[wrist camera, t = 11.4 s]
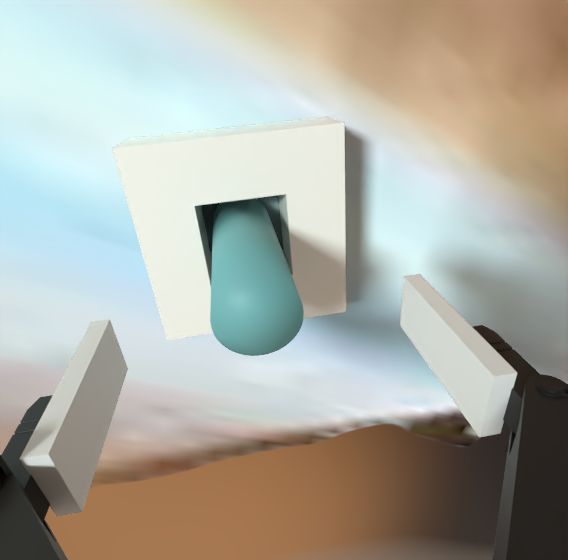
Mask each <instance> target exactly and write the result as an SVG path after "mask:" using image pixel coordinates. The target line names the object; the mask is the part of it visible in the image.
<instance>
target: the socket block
mask: <svg viewBox="0 0 568 560" xmlns="http://www.w3.org/2000/svg"><path fill="white" fill-rule="evenodd" d="M112 150H113V154H114V157H115V161H116V164H117V167H118V171H119V174H120V178H121V181H122V185H123V188H124V192H125V195H126V199H127V202H128V206H129V209H130V213H131V216H132V220H133V223H134V226H135V230H136V233H137V237H138V240H139V244H140V247H141V251H142V254H143V258H144V261H145V265H146V268H147V272H148V275H149V279H150V282H151V285H152V289H153V292H154V296H155V299H156V303H157V306H158V310H159V313H160V317H161V320H162V324H163V327H164V331H165V334H166V338H167V340H172V339H178V338H185V337H191V336H197V335H204V334H210V333H213V331H212V328H211V323H210V310H211V275H212V259H211V254H210V249H209V244H208V239H207V233H206V228H205V223H204V218H203V213H202V208H201V205H206V204H213V203H221V202H229V201H237V200H245V199H253V198H261V197H268V196H276V195H279V206H280V216H281V227H282V238H283V248H284V251H282V252H283V254H284V257H285V260H286V262H287V265H288V267H289V270H290V273H291V275H292V278H293V281H294V283H295V286H296V289H297V291H298V294H299V296H300V299H301V302H302V305H303V311H304V316H303V319H305V318H311V317H317V316H324V315H330V314H336V313H342V312H346V234H345V128H344V122H341V121H338V120H335V119H333V118H330V117H327V116H326V117H316V118H307V119H298V120H289V121H280V122H271V123H262V124H252V125H243V126H234V127H225V128H216V129H207V130H197V131H188V132H179V133H170V134H161V135H152V136H143V137H133V138H127V139H126V140H124V141H123V142H121V143H120V144H118V145H117V146H115V147H113V148H112Z"/></svg>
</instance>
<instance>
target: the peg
mask: <svg viewBox="0 0 568 560" xmlns="http://www.w3.org/2000/svg"><path fill="white" fill-rule="evenodd" d="M303 316H304V311H303V305H302V302H301V299H300V296H299V294H298V291H297V289H296V286H295V283H294V281H293V278H292V275H291V273H290V270H289V267H288V265H287V262H286V260H285V257H284V254H283V252H282V249H281V246H280V244H279V241H278V238H277V236H276V233H275V231H274V228H273V225H272V223H271V220H270V217H269V215H268V212H267V210H266V208H265V206H264V205H263V204H262V202H260V201H259V200H258V199H257V198H253V199H245V200H237V201H229V202H221V203H220V204H219V205H218V206H217V208H216V210H215V212H214V216H213V240H212V275H211V310H210V323H211V328H212V331H213V333H214V335H215V337H216V338H217V340H218V341H219V342H220V343H221V344H222V345H224V346H225V347H226V348H228V349H229V350H231V351H234V352H236V353H239V354H243V355H251V356H255V355H264V354H269V353H272V352H275V351H277V350H279V349H281V348H283V347H284V346H286V345H287V344H288V343H289V342H290V341H292V340H293V338H294V337H295V336H296V335H297V333H298V332H299V330H300V328H301V325H302V322H303Z"/></svg>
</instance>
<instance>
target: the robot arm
mask: <svg viewBox="0 0 568 560" xmlns="http://www.w3.org/2000/svg"><path fill="white" fill-rule="evenodd" d="M400 326H401V327H402V329H403V330H404V332H405V333H406V335H407V336H408V337H409V339H410V340H411V342H412V343H413V344H414V346H415V347H416V349H417V350H418V351H419V353H420V354H421V356H422V357H423V358H424V360H425V361H426V363H427V364H428V366H429V367H430V368H431V370H432V371H433V373H434V374H435V375H436V377H437V378H438V380H439V381H440V382H441V384H442V385H443V387H444V388H445V390H446V391H447V392H448V394H449V395H450V397H451V398H452V399H453V401H454V402H455V404H456V405H457V406H458V408H459V409H460V411H461V412H462V414H463V415H464V416H465V418H466V419H467V421H468V422H469V423H470V425H471V426H472V428H473V429H474V430H475V432H476V433H477V435H478V436H479V437H483V436H489V435H494V434H499V433H501V429H502V426H503V422H504V421H505V423H506V424H507V425H508V426H509V428H510V429H511V430H512V431H511V434H510V438H509V441H508V444H507V447H506V452H507V460H506V467H505V475H504V482H503V490H502V496H501V504H500V511H499V518H498V525H497V532H496V539H495V547H494V554H493V560H568V384H566V383H565V382H563V381H562V380H560V379H557V378H555V377H552V376H547V375H540V374H539V373H538V372H537V371H536V370H535V369H534V368H533V367H532V366H531V365H530V364H529V363H527V362H526V361H525V360H524V359H523V358H522V357H521V356H520V355H519V354H518V353H517V352H516V351H515V350H512V347H511V346H509V345H508V344H507V343H505V341H504V340H503V339H502V338H501V337H500V336H499V335H498V334H497V333H496V332H494V331H492V330H490V329H488V328H487V327H485V326H483V325H481V326H474V327H472V326H471V325H470V324H469V323H468V322H467V321H466V320H465V319H464V318H463V317H462V316H461V315H460V314H459V313H458V312H457V311H456V310H455V309H454V308H453V307H452V306H451V305H450V304H449V303H448V302H447V301H446V300H445V299H444V298H443V297H442V296H441V295H440V294H439V293H438V292H437V291H436V290H435V289H434V288H433V287H432V286H431V285H430V284H429V283H428V282H427V281H426V280H425V279H424V278H423V277H422V276H421V275H420V274H416V275H409V276H404V281H403V294H402V306H401V319H400ZM127 369H128V368H127V365H126V362H125V360H124V357H123V354H122V352H121V349H120V346H119V343H118V341H117V338H116V335H115V333H114V330H113V327H112V325H111V322H110V320H103V321H97V322H91V324H90V326H89V327H88V329H87V331H86V333H85V335H84V337H83V339H82V341H81V343H80V345H79V346H78V348H77V350H76V352H75V354H74V356H73V358H72V360H71V362H70V364H69V366H68V367H67V369H66V371H65V373H64V375H63V377H62V379H61V381H60V383H59V385H58V386H57V388H56V390H55V392H54V394H53V395H52V396H46V397H40V398H39V399H38V400H37V401H36V402H35V403H34V404H33V405H32V406H31V407H30V408H29V409H28V410H27V412H26V413H25V415H24V417H23V419H22V420H21V424H19V426H18V427H17V429H16V431H15V435H13V436H12V438H11V439H10V441H9V443H8V445H7V446H6V448H5V450H4V452H3V453H2V455H0V560H68V559H67V558H66V556H65V554H64V552H63V551H62V549H61V547H60V545H59V543H58V542H57V540H56V538H55V536H54V534H53V533H52V531H51V529H50V527H49V526H48V524H47V522H46V521H45V519H44V518H45V516H46V513H47V511H48V508H49V506H50V507H51V509H52V510H53V512H54V513H55V515H56V516H62V515H67V514H72V513H78V512H82V511H83V507H84V504H85V501H86V498H87V495H88V491H89V489H90V485H91V482H92V479H93V476H94V473H95V470H96V467H97V463H98V460H99V457H100V454H101V451H102V448H103V445H104V442H105V438H106V435H107V432H108V429H109V426H110V423H111V420H112V416H113V413H114V410H115V407H116V404H117V401H118V398H119V394H120V391H121V388H122V385H123V382H124V379H125V376H126V372H127Z"/></svg>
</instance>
